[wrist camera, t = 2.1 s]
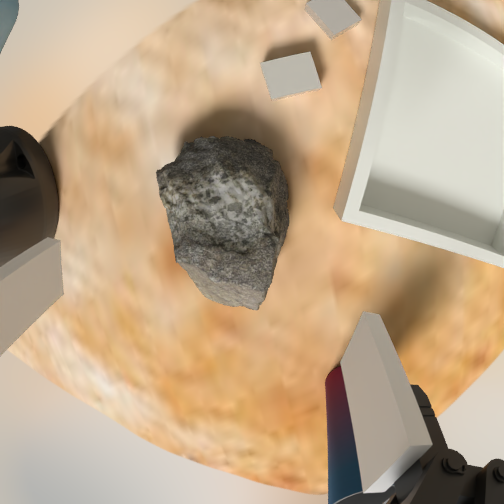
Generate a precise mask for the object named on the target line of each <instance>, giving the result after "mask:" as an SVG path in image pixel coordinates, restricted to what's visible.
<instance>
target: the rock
mask: <svg viewBox="0 0 504 504" xmlns="http://www.w3.org/2000/svg"><path fill="white" fill-rule="evenodd" d="M244 141H245V142H244ZM244 141H241V140H239V139H236V138H233V137H228V136H226V137H221V138H220V139H219V138H216V137H214V136H212V137H209V138H202V136H201V137H200V138H198V139H195V140H194V142H193V143H188V142H185V143H184V146H183V148H182V151H181V153H180V155H179V156H178V157H177V158H176V160H175V161H174V162H171V163H170V164H167V165H165V166H164V167H163V168H162V169H161V170H157V172H156V174H157V181H158V185H159V190H160V191H159V194H160V198H161V200H162V202H163V205H164V207H165V208H166V211H167V217H168V222H169V225H170V229H171V233H172V238H173V243H174V253H175V258H176V263H177V262H178V263H179V264H180V266H181V267H182V268H183V269H185V270H186V271H187V272H188V274H189V276H190V278H191V279H192V280H193V282H194V283H195V284H196V286H197V288H198V289H199V290H200V291H201V293H202V294H203V295H204V296H205V297H206V298H208V299H210V300H212V301H215V302H218V303H221V304H223V305H227V306H232V307H237V306H244V307H246V308H249V309H252V310H259V305H261V304H262V302H263V301H264V300H265V297H266V294H267V291H268V288H269V287H270V284H271V283H272V279H273V275H274V270H275V267H276V263H277V257H278V255H279V252H280V249H281V246H283V243H284V240H285V237H286V233H287V229H288V226H289V214H288V209H287V200H288V196H289V195H288V184H287V181H286V178H285V176H284V173H283V171H282V170H281V166H280V163H279V162H278V161H276V160H274V159H273V152H272V150H270V149H268V148H267V147H265V146H264V145H261V144H260V143H258V142H256V141H255V140H252V139H251V140H250V139H246V140H244Z"/></svg>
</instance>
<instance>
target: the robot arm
mask: <svg viewBox="0 0 504 504" xmlns="http://www.w3.org/2000/svg"><path fill="white" fill-rule="evenodd" d="M18 10H19V3H18V0H0V53H1V51H2V48H3V47H4V44H5V42H6V40H7V38H8V36H9V34H10V32H11V30H12V28H13V26H14V24H15V21H16V19H17V16H18ZM57 221H58V195H57V188H56V183H55V178H54V174H53V171H52V168H51V165H50V163H49V161H48V158H47V156H46V154H45V152H44V151H43V149H42V147H41V146H40V145H39V143H38V142H37V141H36V140H35V139H34V138H33V137H32V136H31V135H30V134H29V133H28V132H26V131H25V130H23V129H21V128H18V127H14V126H5V127H0V356H1V355H2V354H3V353H4V352H5V351H6V350H7V349H8V348H9V347H10V346H11V345H12V344H13V343H14V342H15V341H16V340H17V339H18V338H19V337H20V336H21V335H22V334H23V333H24V332H25V331H26V330H27V329H28V328H29V327H30V326H31V325H32V324H33V323H34V322H35V321H36V320H37V319H38V318H39V317H40V316H41V315H42V314H43V313H44V312H45V311H46V310H47V309H48V308H49V307H50V306H51V305H53V304H54V303H55V302H56V301H57V300H58V299H59V298H60V297H61V296H62V295H63V294H64V292H63V280H62V265H61V242H60V240H57V239H53V238H54V235H55V232H56V227H57ZM340 364H341V369H342V373H343V378H344V383H345V388H346V393H347V399H348V404H349V409H350V415H351V420H352V426H353V431H354V437H355V443H356V449H357V455H358V462H359V468H360V475H361V481H362V488H363V493H377V492H385V491H386V490H387V489H388V488H389V487H391V486H392V485H393V484H394V486H395V491H396V492H395V493H394V494H393V495H392V496H391V497H389V498H388V499H387V500H386V501H385V502H383V503H382V504H504V461H503V460H501V459H494V460H491V461H490V462H489V463H488V464H487V465H486V466H485V467H484V468H482V467H477V466H471V465H467V462H466V460H465V459H464V457H463V456H462V455H461V454H459V453H458V452H457V451H455V450H452V449H448V447H447V444H446V441H445V439H444V436H443V434H442V431H441V428H440V426H439V423H438V421H437V418H436V417H435V413H434V411H433V409H432V408H431V404H430V401H429V399H428V397H427V395H426V394H425V392H424V391H423V390H422V389H421V388H420V387H419V386H418V385H410V383H409V381H408V378H407V376H406V373H405V371H404V369H403V366H402V364H401V361H400V359H399V357H398V354H397V352H396V350H395V348H394V345H393V343H392V341H391V338H390V336H389V334H388V332H387V330H386V327H385V325H384V323H383V321H382V319H381V316H380V314H375V313H369V312H364V311H363V313H362V315H361V317H360V320H359V322H358V324H357V327H356V329H355V331H354V333H353V336H352V338H351V340H350V342H349V344H348V347H347V349H346V351H345V353H344V355H343V357H342V359H341V361H340Z"/></svg>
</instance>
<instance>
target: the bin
mask: <svg viewBox="0 0 504 504" xmlns="http://www.w3.org/2000/svg"><path fill="white" fill-rule="evenodd" d="M333 209H334V210H335V212H336V213H337V215H338V217H339V218H340V220H341V221H344V222H348V223H351V224H355V225H359V226H363V227H367V228H371V229H374V230H378V231H382V232H385V233H389V234H393V235H396V236H400V237H403V238H407V239H411V240H414V241H418V242H421V243H424V244H428V245H431V246H435V247H438V248H441V249H445V250H448V251H451V252H455V253H458V254H461V255H464V256H468V257H471V258H474V259H477V260H480V261H484V262H487V263H490V264H493V265H496V266H499V267H502V268H504V44H502V43H501V42H499V41H498V40H496V39H495V38H493V37H492V36H490V35H489V34H487V33H485V32H484V31H482V30H481V29H479V28H477V27H476V26H474V25H472V24H471V23H469V22H467V21H465V20H464V19H462V18H460V17H458V16H457V15H455V14H453V13H451V12H449V11H447V10H445V9H443V8H441V7H439V6H437V5H435V4H433V3H431V2H429V1H427V0H380V2H379V8H378V14H377V20H376V25H375V31H374V36H373V42H372V47H371V52H370V57H369V62H368V67H367V72H366V77H365V82H364V86H363V91H362V95H361V100H360V104H359V109H358V113H357V117H356V122H355V126H354V130H353V134H352V138H351V142H350V146H349V150H348V154H347V158H346V162H345V166H344V170H343V173H342V177H341V181H340V185H339V188H338V192H337V196H336V199H335V203H334V206H333Z"/></svg>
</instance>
